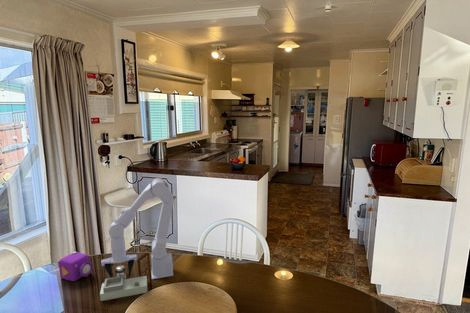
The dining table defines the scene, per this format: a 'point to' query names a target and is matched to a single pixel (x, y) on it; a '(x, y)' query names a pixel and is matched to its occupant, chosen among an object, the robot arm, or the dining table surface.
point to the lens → (120, 271)
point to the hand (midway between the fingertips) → (120, 277)
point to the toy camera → (75, 266)
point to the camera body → (122, 287)
